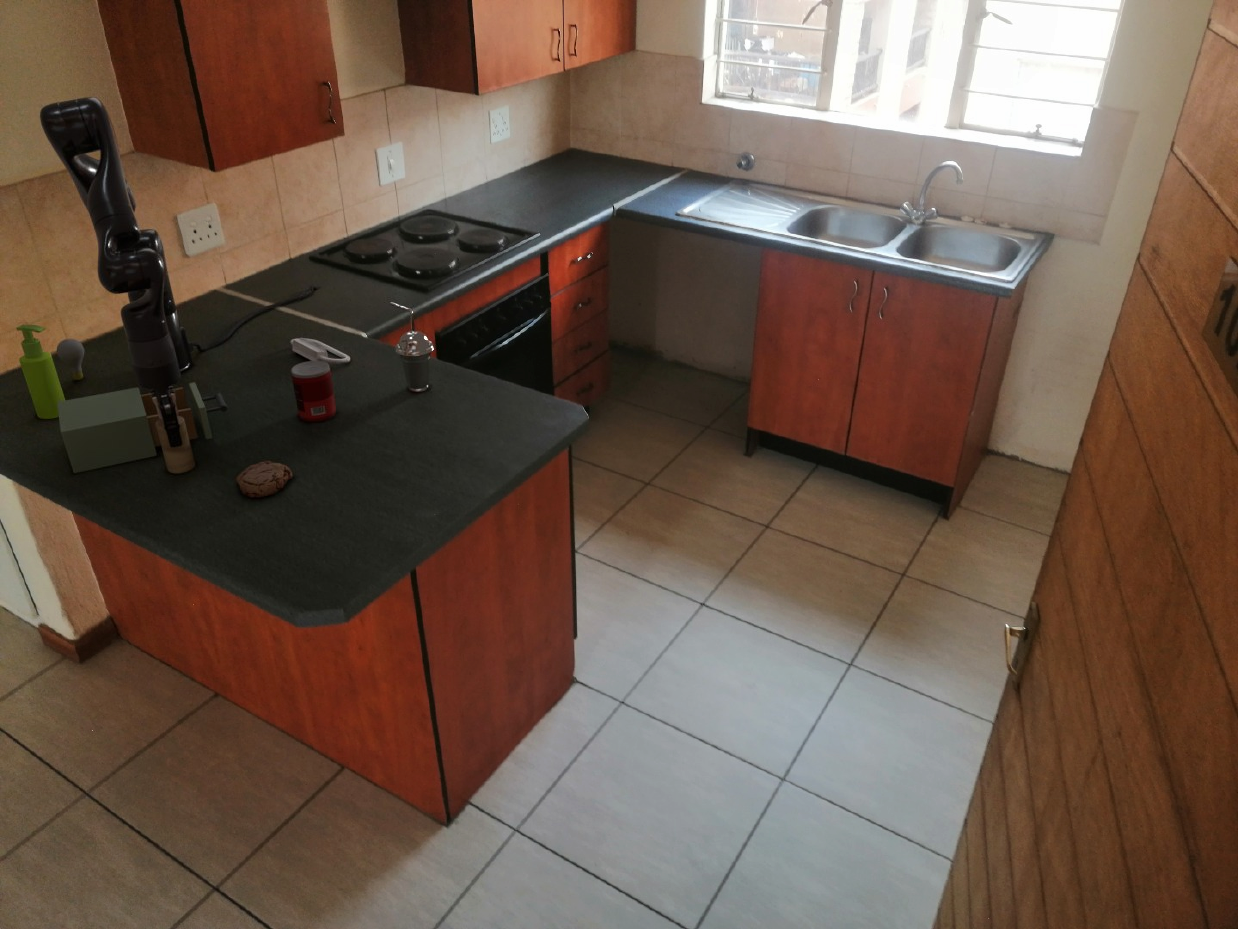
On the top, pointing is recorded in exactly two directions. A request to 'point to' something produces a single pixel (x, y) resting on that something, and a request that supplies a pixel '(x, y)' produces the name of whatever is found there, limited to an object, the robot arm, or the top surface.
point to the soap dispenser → (40, 374)
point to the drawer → (184, 412)
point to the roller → (176, 449)
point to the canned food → (313, 390)
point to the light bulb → (72, 356)
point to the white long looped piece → (316, 350)
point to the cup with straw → (415, 355)
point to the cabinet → (105, 429)
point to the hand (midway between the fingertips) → (174, 439)
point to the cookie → (263, 479)
